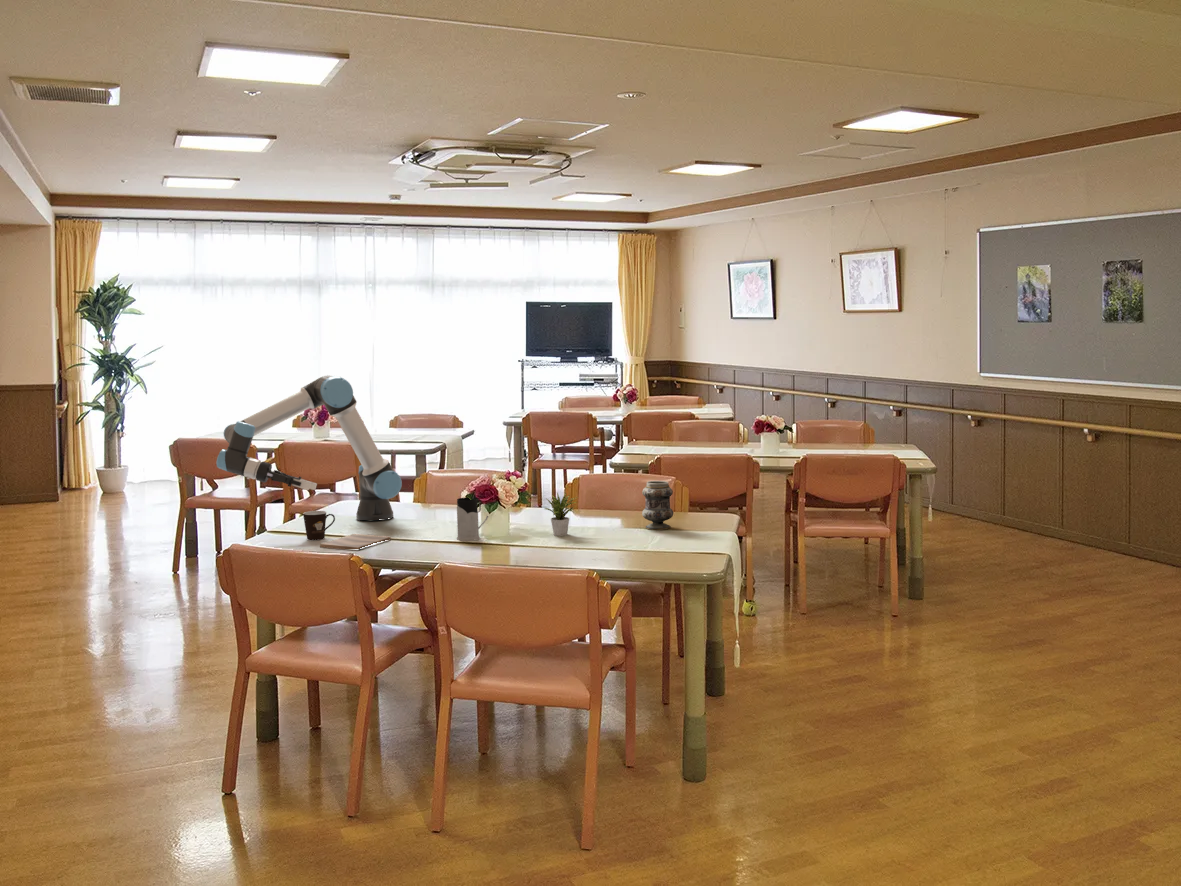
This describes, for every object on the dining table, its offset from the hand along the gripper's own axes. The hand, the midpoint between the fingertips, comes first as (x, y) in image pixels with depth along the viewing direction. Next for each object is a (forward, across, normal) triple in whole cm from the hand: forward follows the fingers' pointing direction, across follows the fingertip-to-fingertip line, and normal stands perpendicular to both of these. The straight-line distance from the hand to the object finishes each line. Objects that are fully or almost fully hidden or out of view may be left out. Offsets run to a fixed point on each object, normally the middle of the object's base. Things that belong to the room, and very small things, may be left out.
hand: (313, 487), depth 420 cm
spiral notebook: (+23, +10, -15) cm, 29 cm away
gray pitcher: (+64, +6, 0) cm, 64 cm away
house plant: (+95, +7, +10) cm, 96 cm away
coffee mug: (+8, -2, -18) cm, 20 cm away
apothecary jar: (+131, -1, +24) cm, 133 cm away
